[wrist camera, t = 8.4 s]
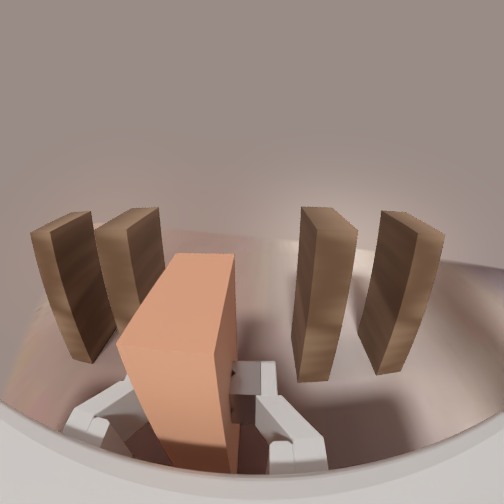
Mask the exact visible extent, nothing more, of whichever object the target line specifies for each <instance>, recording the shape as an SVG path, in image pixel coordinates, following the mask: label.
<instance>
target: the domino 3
mask: <svg viewBox="0 0 504 504" xmlns="http://www.w3.org/2000/svg"><path fill="white" fill-rule="evenodd" d="M116 345H117V348H118V351H119V354H120V356H121V359H122V362H123V364H124V367H125V369H126V372H127V374H128V377H129V379H130V381H131V384H132V386H133V388H134V391H135V393H136V395H137V397H138V400H139V402H140V404H141V406H142V408H143V410H144V412H145V414H146V416H147V418H148V420H149V422H150V424H151V426H152V428H153V430H154V432H155V434H156V436H157V438H158V439H159V441H160V443H161V445H162V447H163V448H164V450H165V452H166V453H167V455H168V457H169V458H170V460H171V462H172V463H173V465H174V467H177V468H183V469H190V470H197V471H205V472H215V473H227V474H237V464H238V449H239V433H240V424H234V423H232V421H231V407H230V400H229V389H230V380H231V377H232V363H233V361H237V332H236V298H235V254H196V253H176V255H175V256H174V258H173V259H172V260H171V262H170V263H169V265H168V266H167V267H166V269H165V270H164V272H163V273H162V275H161V276H160V277H159V279H158V280H157V282H156V283H155V285H154V286H153V288H152V289H151V290H150V292H149V293H148V295H147V296H146V298H145V299H144V301H143V302H142V304H141V305H140V307H139V308H138V310H137V311H136V313H135V314H134V316H133V318H132V319H131V321H130V322H129V324H128V325H127V327H126V328H125V330H124V332H123V333H122V335H121V336H120V338H119V339H118V341H117V343H116Z"/></svg>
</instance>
